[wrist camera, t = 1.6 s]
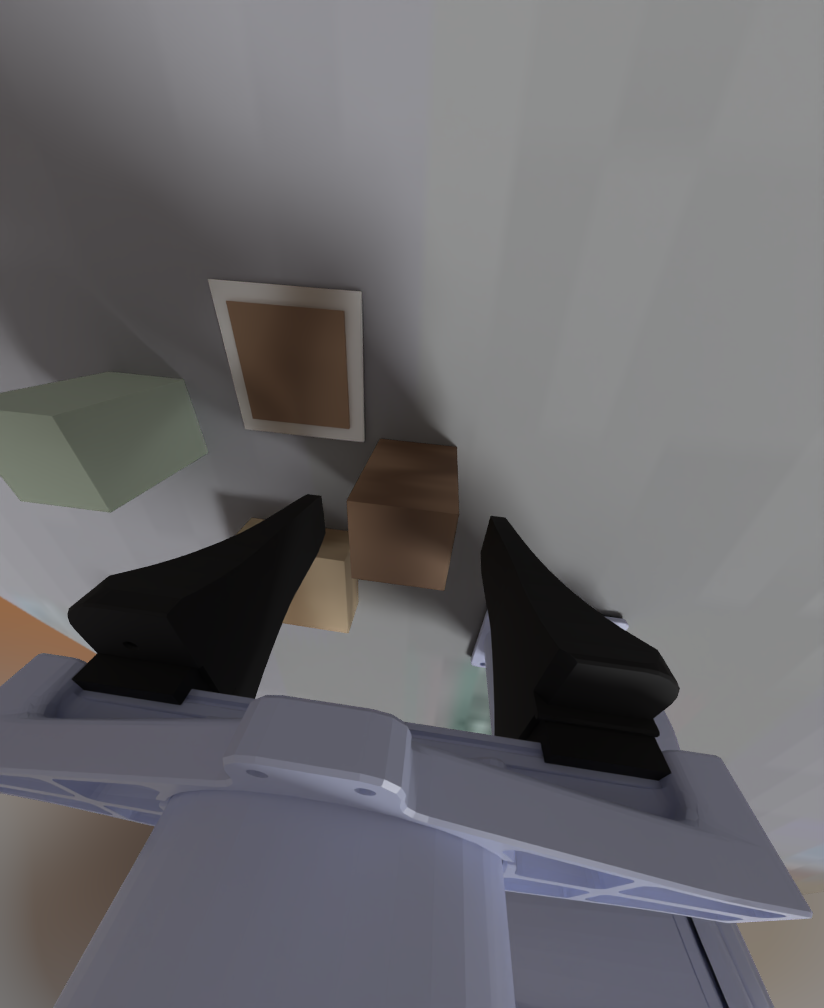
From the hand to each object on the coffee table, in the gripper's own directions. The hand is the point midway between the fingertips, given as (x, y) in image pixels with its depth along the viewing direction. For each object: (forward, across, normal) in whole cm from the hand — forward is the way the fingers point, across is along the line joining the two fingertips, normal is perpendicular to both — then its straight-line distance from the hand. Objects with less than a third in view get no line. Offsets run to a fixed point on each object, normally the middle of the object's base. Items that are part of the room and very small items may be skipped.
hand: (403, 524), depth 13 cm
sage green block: (+5, +14, -2) cm, 15 cm away
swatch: (+4, +6, -5) cm, 9 cm away
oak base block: (+5, +7, +8) cm, 12 cm away
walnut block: (+4, 0, 0) cm, 5 cm away
